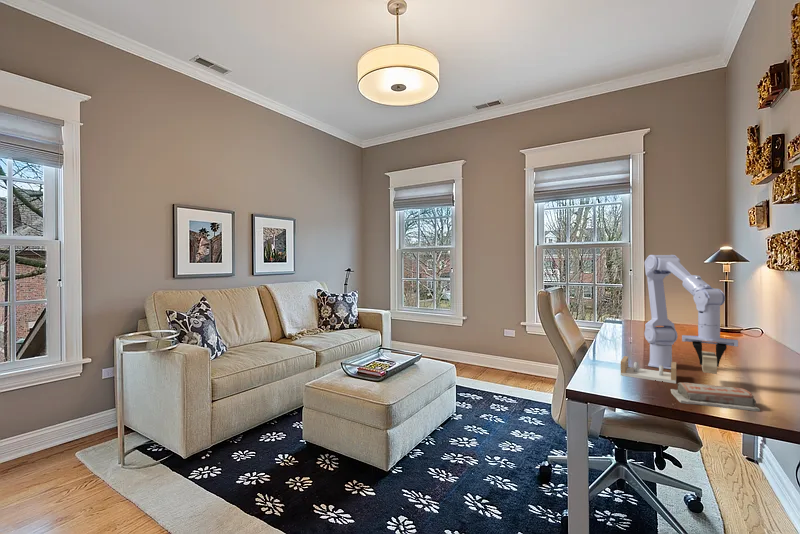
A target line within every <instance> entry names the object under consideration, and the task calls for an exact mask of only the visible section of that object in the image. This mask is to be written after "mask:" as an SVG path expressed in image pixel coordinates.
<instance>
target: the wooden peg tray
mask: <svg viewBox="0 0 800 534" xmlns="http://www.w3.org/2000/svg"><path fill="white" fill-rule="evenodd" d="M621 375H622V377H629V378H635V379H643V380H649V381H655V380H656V381H657V382H662V381H663V383H670V384H677V362H676V361H672V362H671V369H670V371H664V368H663V366H662V365H659V368H658V370H653V369H646V368H640V367H639V362H638V361H637V362H636V361H634V363H633V366H629V356H628V355H624V356H623V357H622V359H621V360H620V376H621Z"/></svg>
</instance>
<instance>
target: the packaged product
mask: <svg viewBox="0 0 800 534" xmlns="http://www.w3.org/2000/svg"><path fill="white" fill-rule="evenodd" d="M670 393H671V395H673V397H674V398H675V399H676V400H677V401H678V402H679V403H681V404H687V405H696V406H697V405H699V406H704V407H705V406H706V407H713V408H721V409H722V408H723V409H730V410H731V409H733V410H741V411H742V410H743V411H750V412H751V411H753V412H760V411H761V409H760V408H759V407H757V406H756V404H757V400H755V397H754V395H753V393H752V392H750V391H749V390H747V389H745V388H741V387H732V386H723V385H714V384H701V383H693V382H677V389H674V388H670Z"/></svg>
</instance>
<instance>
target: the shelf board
mask: <svg viewBox="0 0 800 534" xmlns="http://www.w3.org/2000/svg"><path fill="white" fill-rule="evenodd" d="M701 369H702V372H703V373H705V374H713V375H717V374H718V367H717V357H716V351H715V352H713V351H704V350H702V365H701Z"/></svg>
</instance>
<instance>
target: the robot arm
mask: <svg viewBox="0 0 800 534" xmlns="http://www.w3.org/2000/svg"><path fill="white" fill-rule="evenodd" d="M643 263H644V270H645V276H646V280H647V282H646V283H647V289H648V298H649V307H650V317H651V319H650V320H648V321H647V322H646V323H645V324H644V325H645V326H644V327H645V328H644V332H643V333H644V338H645V340H646V341H647V343H649V361H648V364H647V366H648V367H652V368H658V369H659V365H662V366H663V369H666V370H667V369H668V370H671V362H673V356H672V355H673V345H674V343H676V342H677V339H678V336H679V335H678V332H677V330H676V326H675V323H674V322H672V321H671V320H670V319H669V317H668V310H667V302H666V295H665V292H666V291H665V286H664V279H665V278H666V277H668V276H670V275H671V274H673V276H675V277H676V278H677V279H679V280H680V281H682V284H681V285H682V287H683V288H684V289H685V290H686V291H688V293H690V294H691V295H692V299H693V301H694V304H695V305H696V307H695V308H696V311H697V316H698V317H697V334H698V335H686V334H682V335H681V342H685V343H686V342H687V343H692V346H693V348H694V350H695V352H696V354H697V356H698V359H699V361H698V362H699V365H700V366H702V351H703V344H710V345H715V355H716V357H717V368H719V365H720V362H721V359H722V356H723V355H724V353H725V351H726V350H727V349H728V348H727V346H729V347H730V346H731V347H739V340H738V339H733V338H732V339H730V338H723V337H721V306H722V305H723V304H724V303H725V301H726V296H725V293H724V292H723V290H722V289H721V288H714V287H711V285H710V284H708V283H707V282H706V281H704V279H702V277H701V276H700V275H697V274H691V273H690V271H689V270H687V269H686V267H684V265H683V264H682V263H681V258H679V257H678V256H677V255H675V254H649V255H648V256H647V257H646V258H645V260H644V262H643Z"/></svg>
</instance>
